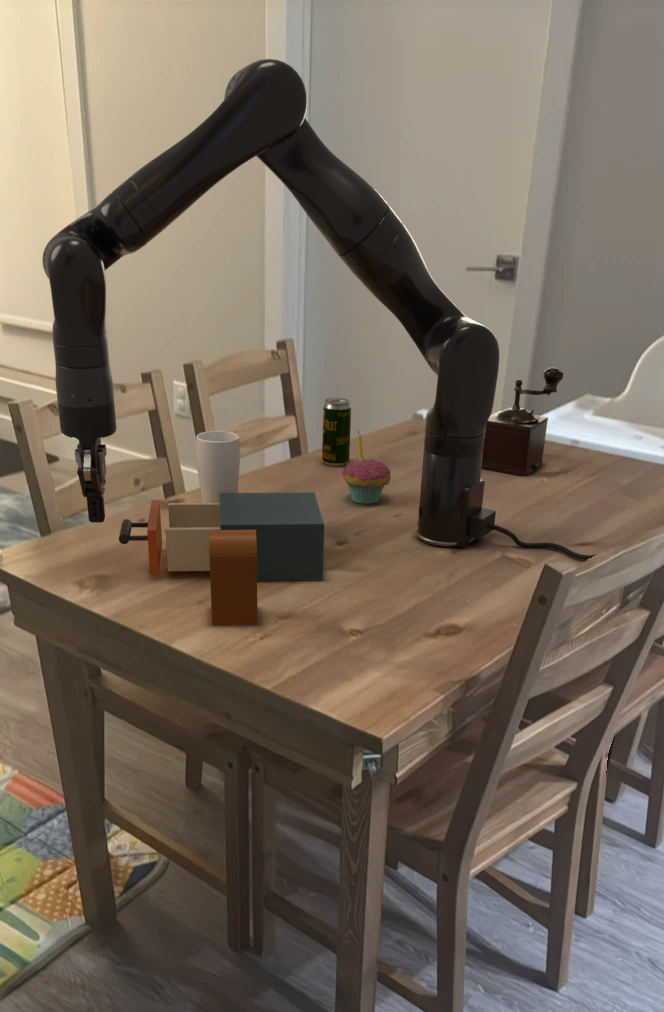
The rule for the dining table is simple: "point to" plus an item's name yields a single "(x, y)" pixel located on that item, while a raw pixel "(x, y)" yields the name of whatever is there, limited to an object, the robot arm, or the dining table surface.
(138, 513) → the dining table surface
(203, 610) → the dining table surface
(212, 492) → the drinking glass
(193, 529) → the drawer
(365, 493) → the cupcake
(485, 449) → the manual coffee grinder
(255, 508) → the cabinet
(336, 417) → the green drink can
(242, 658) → the dining table surface
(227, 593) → the bread
